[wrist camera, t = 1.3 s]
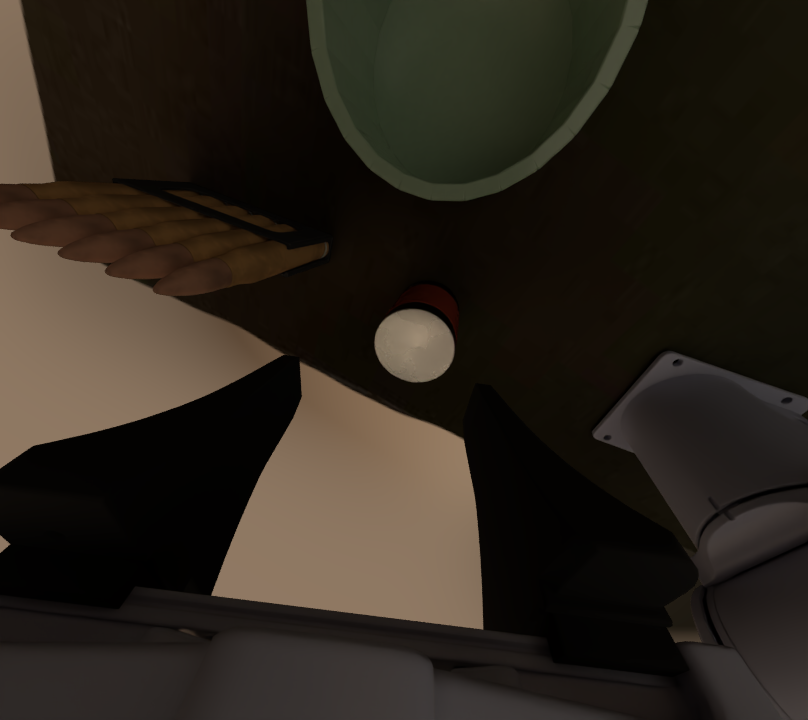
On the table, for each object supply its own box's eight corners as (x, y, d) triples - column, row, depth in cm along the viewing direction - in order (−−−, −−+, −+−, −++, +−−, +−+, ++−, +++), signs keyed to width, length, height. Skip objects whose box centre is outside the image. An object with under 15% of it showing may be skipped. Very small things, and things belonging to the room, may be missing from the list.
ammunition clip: (334, 236, 19) (177, 273, 9) (329, 262, 20) (183, 325, 10) (188, 181, 20) (-127, 158, 9) (190, 211, 21) (-92, 219, 10)
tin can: (469, 292, 19) (469, 325, 14) (446, 347, 22) (438, 393, 16) (407, 270, 19) (384, 295, 14) (390, 327, 22) (366, 367, 17)
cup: (637, -46, 12) (790, -274, 6) (515, 225, 17) (537, 236, 11) (395, -118, 12) (330, -397, 6) (350, 169, 17) (293, 154, 12)
